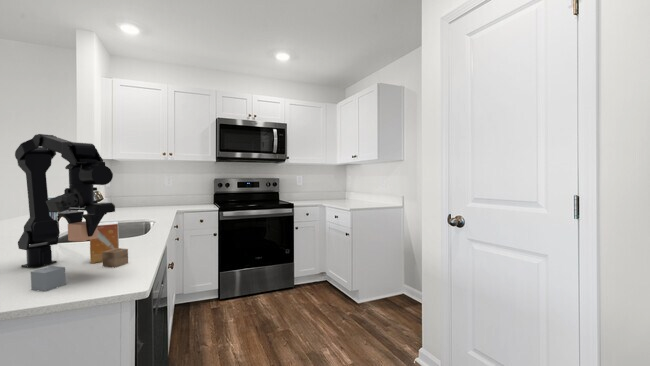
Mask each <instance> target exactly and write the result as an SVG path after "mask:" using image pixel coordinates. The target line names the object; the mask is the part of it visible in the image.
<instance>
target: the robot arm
mask: <svg viewBox="0 0 650 366" xmlns="http://www.w3.org/2000/svg"><path fill="white" fill-rule="evenodd" d="M57 153H58V154H60V155H61V156H60V157H61V158H62V159H64V160H65V161H67V162H68V164H67V165H66V166H65V167H64V168H65V170H68V187H65V189H64V191H63V192H64V193H63V194H60V195H57V196H55V197H52V198H50V199H49V195H48V194H49V193H48V183H47V172H48V171H49V169H50V167H51V166H52V160H53V159H54V157H55V156H56V155H57ZM14 158H15V159H16V161H17V166H18V167H19V168H20V169H21V170H22V172H24V173H25V178H26V187H27V200H28V212H29V217H28V220H27V221H26V223H25V224H24V226H23V232H22V234H21V236H20V237H19V239H18V242H17V245H18V246H17V247H18V249H19V250H23V251H25V252H26V263H25V264H21V267H22V268H31V269H36V268H40V267H45V266H50V265H51V264H55V263H57V260H53V256H52V255H53V254H52V252H53V251H52V246H53V245H54V246H55V245H56V246H57V245H58V243H59V239H60V229H59V221H58V220H57V219H54V218H53V217H52V216H51V215H50V214H51V213H57V215H58V216H59V217H62V218H64V219H65V220H66V222H67V225H68V224H71V223H77V222H83V220H85V221H86V228H87V234H88V237H90V236H92V235H93V234H94V232H95V230H96V228H97V226H98V224H99V223H101V221H102V219H103V218H104V216H105V215H107V214H108V213H114V212H115V213H116V204H114V203H113V202H98V200H95V194H94V193H95V192H97V191H98V187H95V186H106V185H108V184H109V183H111V182H112V181H113V177H114V173H113V172H112V170H111V168H110V167H108V166H107V165H106V162H105V161H104V159H103V158H102V157H101V155H100V153H99V151H98V149H97V148H96V146H95V145H94V144H93V143H90V142H88V143H87V142H78V141H77V142H75V141H69V140H66V139H63V138H60V137H57V136H56V135H53V134H43V133H38V134H35V135H33V137H32V138H30V139H28V140H26V141H23V142H21V143H20V144H19V146H18V147H17V148H16V150H15V152H14ZM85 212H86V214H85Z"/></svg>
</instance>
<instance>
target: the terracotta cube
mask: <svg viewBox="0 0 650 366" xmlns="http://www.w3.org/2000/svg"><path fill="white" fill-rule="evenodd" d="M67 236H68V237H67V240H68V242H79V243H80V242H86V241H90V240H91V239H96V238H98V227H97V228H96V230H95V232H94V234H93V235H92V236H90V237H88V234H87V228H86V220H85V221H83V220H82V222H77V223H71V224H68V223H67Z"/></svg>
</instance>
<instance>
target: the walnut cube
mask: <svg viewBox="0 0 650 366" xmlns="http://www.w3.org/2000/svg"><path fill="white" fill-rule="evenodd" d="M102 259H103V262H102V267H103V266H104V268H112V267H114V269H116V268H119V267H122V266H124V265H127V264H129V248H122V247H121V248H120V247H119V248H115V249H111V250H107V251H104V252H102ZM115 267H116V268H115Z"/></svg>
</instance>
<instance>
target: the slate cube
mask: <svg viewBox="0 0 650 366" xmlns="http://www.w3.org/2000/svg"><path fill="white" fill-rule="evenodd" d="M66 276H67V275H66V267H65V266H58V265H48V266H46V267H44V268H43V267H42V268H38V269H36V270H31V271H30V284H31V285H30V287H31V290H32V291H37V290H39V292H45V293H46V292H49V291H51V290H54V289H57V287H58V288H60V287H63V286H66V285H67V277H66Z"/></svg>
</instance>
